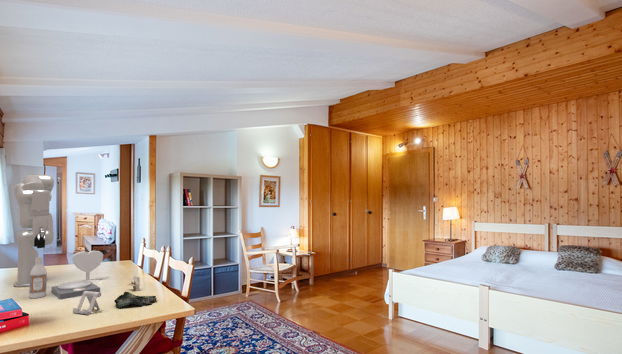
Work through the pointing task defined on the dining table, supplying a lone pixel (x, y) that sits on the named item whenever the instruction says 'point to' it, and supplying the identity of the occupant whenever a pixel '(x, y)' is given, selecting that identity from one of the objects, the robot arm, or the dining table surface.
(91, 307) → the portable electronic device stand
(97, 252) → the heart sculpture
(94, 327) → the dining table surface
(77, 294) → the dial scale
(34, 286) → the bath foam
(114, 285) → the dining table surface
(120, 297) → the decorative rock
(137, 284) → the architectural model
